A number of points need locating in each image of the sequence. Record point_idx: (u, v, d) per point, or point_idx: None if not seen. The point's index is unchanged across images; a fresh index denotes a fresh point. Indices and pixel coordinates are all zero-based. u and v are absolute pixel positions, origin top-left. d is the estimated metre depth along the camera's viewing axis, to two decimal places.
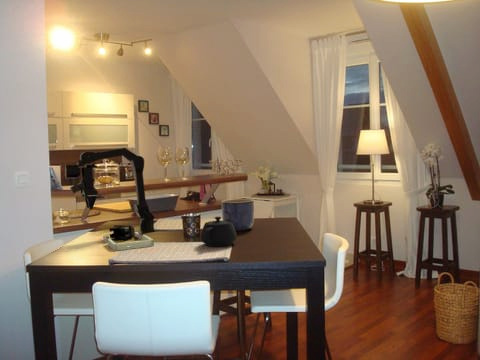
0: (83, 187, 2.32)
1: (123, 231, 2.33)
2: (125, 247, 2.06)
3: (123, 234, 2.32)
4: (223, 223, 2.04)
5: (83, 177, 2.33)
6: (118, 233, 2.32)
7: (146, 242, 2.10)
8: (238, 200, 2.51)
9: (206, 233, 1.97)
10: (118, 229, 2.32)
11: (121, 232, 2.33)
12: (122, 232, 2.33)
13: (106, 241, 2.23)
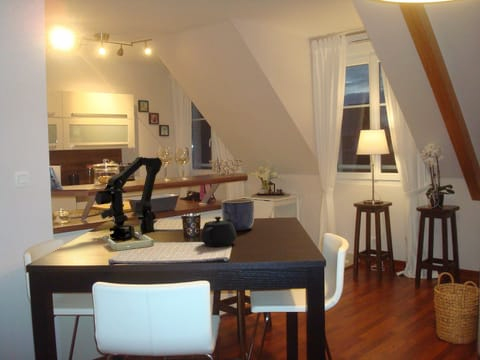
0: (113, 213, 2.33)
1: (123, 231, 2.33)
2: (125, 247, 2.06)
3: (123, 234, 2.32)
4: (223, 223, 2.04)
5: (113, 203, 2.34)
6: (118, 233, 2.32)
7: (146, 242, 2.10)
8: (238, 200, 2.51)
9: (206, 233, 1.97)
10: (118, 229, 2.32)
11: (121, 232, 2.33)
12: (122, 232, 2.33)
13: (106, 241, 2.23)
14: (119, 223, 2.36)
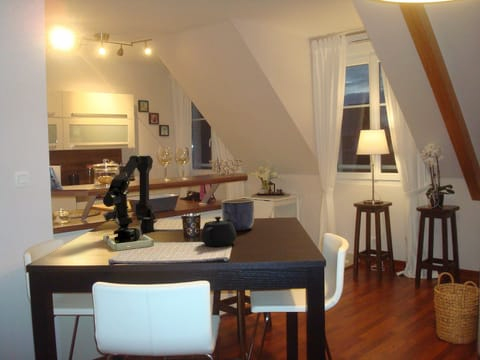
0: (117, 215, 2.24)
1: (128, 234, 2.24)
2: (125, 247, 2.06)
3: (128, 237, 2.23)
4: (223, 223, 2.04)
5: (117, 204, 2.25)
6: (122, 236, 2.23)
7: (146, 242, 2.10)
8: (238, 200, 2.51)
9: (206, 233, 1.97)
10: (122, 232, 2.23)
11: (126, 235, 2.24)
12: (127, 235, 2.24)
13: (106, 241, 2.23)
14: (123, 225, 2.27)
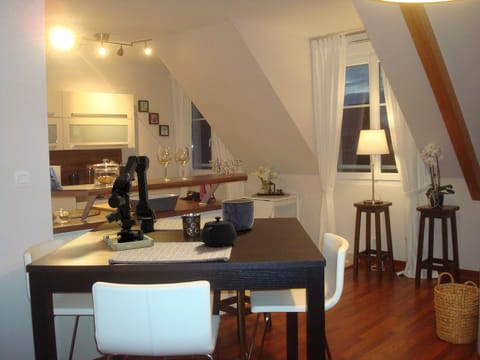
0: (120, 216, 2.19)
1: (131, 236, 2.18)
2: (125, 247, 2.06)
3: (131, 239, 2.18)
4: (223, 223, 2.04)
5: (119, 206, 2.20)
6: (126, 238, 2.18)
7: (146, 242, 2.10)
8: (238, 200, 2.51)
9: (206, 233, 1.97)
10: (126, 233, 2.18)
11: (129, 237, 2.19)
12: (130, 237, 2.19)
13: (106, 241, 2.23)
14: (126, 227, 2.22)
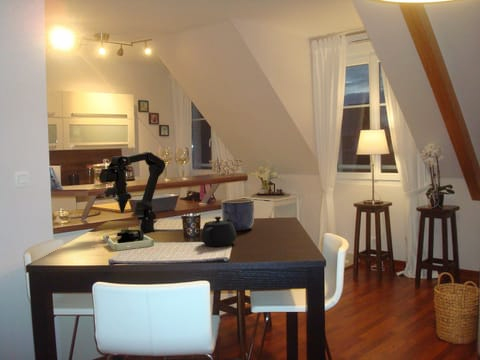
0: (116, 191, 2.32)
1: (131, 236, 2.18)
2: (125, 247, 2.06)
3: (131, 239, 2.18)
4: (223, 223, 2.04)
5: (116, 181, 2.33)
6: (126, 238, 2.18)
7: (146, 242, 2.10)
8: (238, 200, 2.51)
9: (206, 233, 1.97)
10: (126, 234, 2.18)
11: (129, 237, 2.19)
12: (130, 237, 2.19)
13: (106, 241, 2.23)
14: (122, 202, 2.35)
